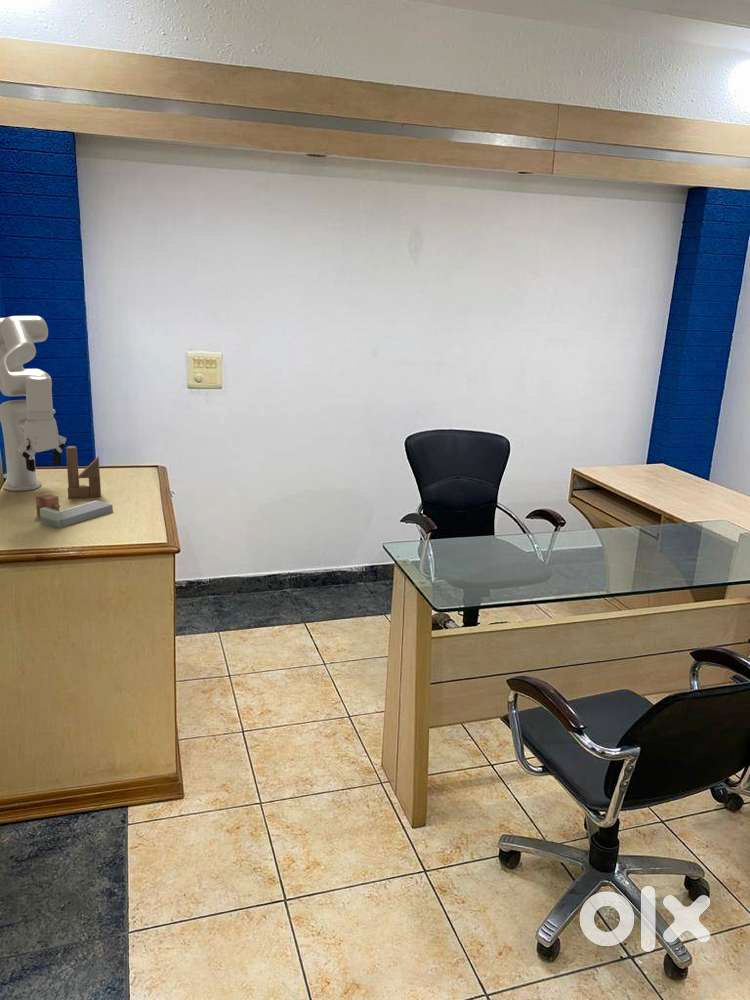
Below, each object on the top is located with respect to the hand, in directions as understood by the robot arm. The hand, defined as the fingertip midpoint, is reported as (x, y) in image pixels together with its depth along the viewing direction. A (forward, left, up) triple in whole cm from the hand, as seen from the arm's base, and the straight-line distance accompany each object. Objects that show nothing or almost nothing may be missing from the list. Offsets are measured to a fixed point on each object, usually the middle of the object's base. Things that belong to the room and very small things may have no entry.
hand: (44, 467), depth 254 cm
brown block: (+2, 0, -17) cm, 17 cm away
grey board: (+9, +5, -16) cm, 19 cm away
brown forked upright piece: (-8, +22, -17) cm, 29 cm away
